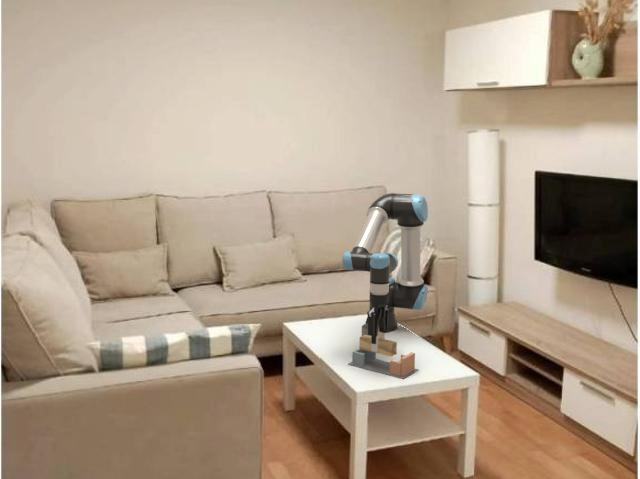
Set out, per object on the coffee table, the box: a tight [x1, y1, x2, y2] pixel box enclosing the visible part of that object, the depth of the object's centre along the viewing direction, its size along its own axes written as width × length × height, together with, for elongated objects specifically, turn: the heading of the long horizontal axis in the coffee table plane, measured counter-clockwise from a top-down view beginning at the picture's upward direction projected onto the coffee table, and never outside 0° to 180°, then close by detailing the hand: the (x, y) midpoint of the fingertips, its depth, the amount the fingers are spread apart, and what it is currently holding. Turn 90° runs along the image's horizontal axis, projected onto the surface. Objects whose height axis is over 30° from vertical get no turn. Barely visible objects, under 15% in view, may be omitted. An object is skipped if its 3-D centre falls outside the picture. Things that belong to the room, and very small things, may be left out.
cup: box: [361, 323, 380, 336], centre depth 317 cm, size 8×8×10 cm
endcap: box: [389, 352, 416, 376], centre depth 290 cm, size 9×6×7 cm, turn 143°
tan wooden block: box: [358, 335, 398, 357], centre depth 296 cm, size 4×15×5 cm, turn 54°
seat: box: [347, 348, 420, 380], centre depth 295 cm, size 12×26×5 cm, turn 53°
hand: (377, 349), depth 296 cm, fingers closed on tan wooden block, 4 cm apart
